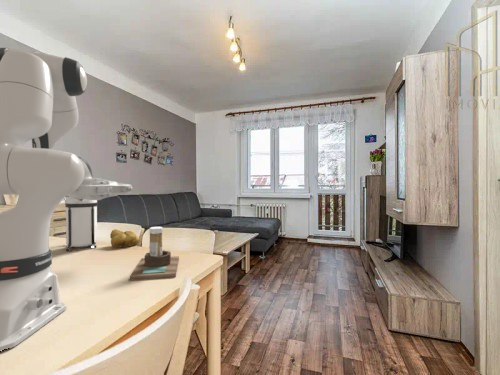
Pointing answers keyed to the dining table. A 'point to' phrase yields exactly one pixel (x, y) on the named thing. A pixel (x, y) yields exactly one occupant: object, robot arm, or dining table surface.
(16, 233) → the robot arm
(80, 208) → the coffee press
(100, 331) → the dining table surface
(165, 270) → the socket board
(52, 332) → the dining table surface
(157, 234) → the sprinkles bottle
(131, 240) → the bread roll
